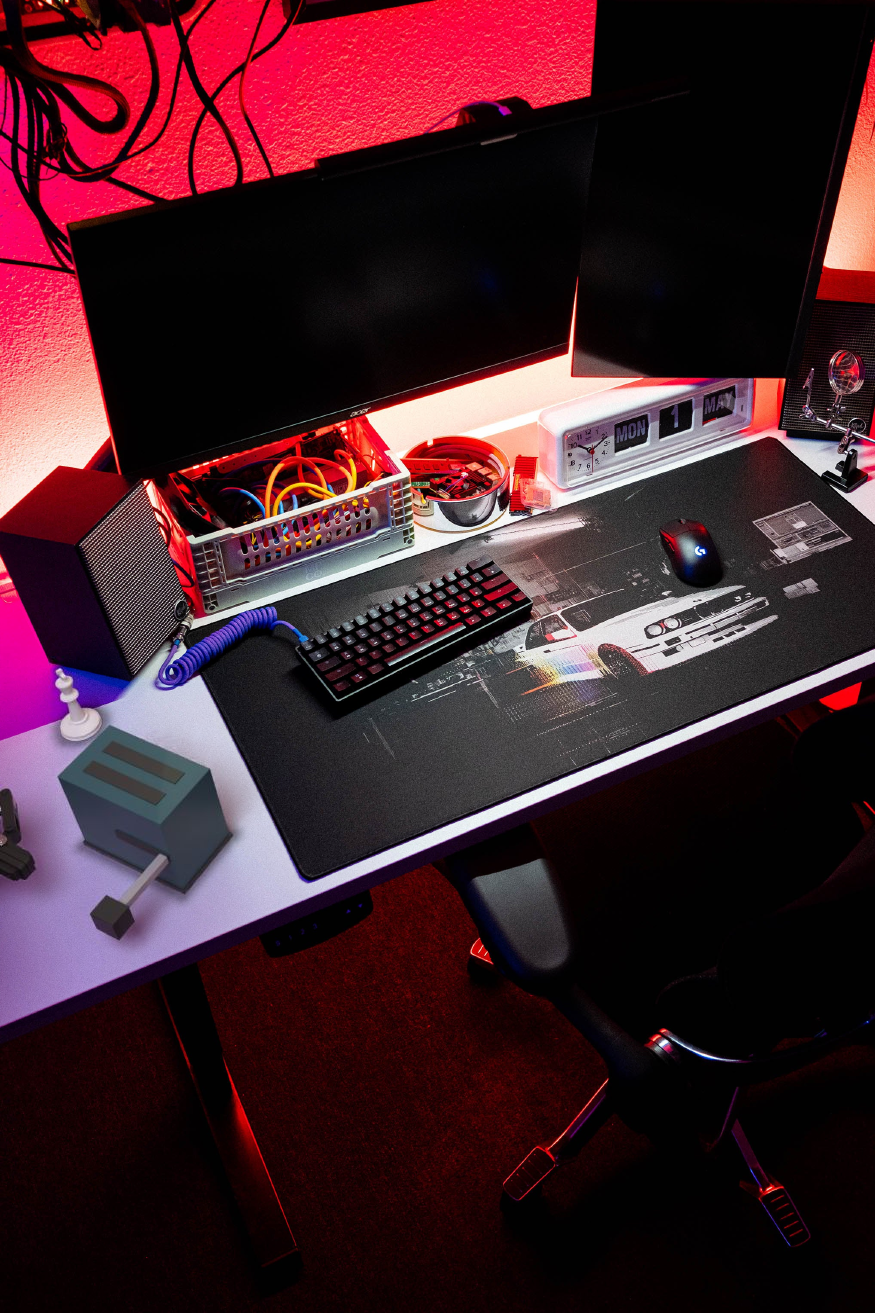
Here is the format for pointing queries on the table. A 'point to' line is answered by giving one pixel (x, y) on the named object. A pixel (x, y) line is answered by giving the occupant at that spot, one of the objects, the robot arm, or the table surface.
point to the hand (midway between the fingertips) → (29, 870)
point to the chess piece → (76, 712)
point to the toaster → (146, 806)
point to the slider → (125, 903)
